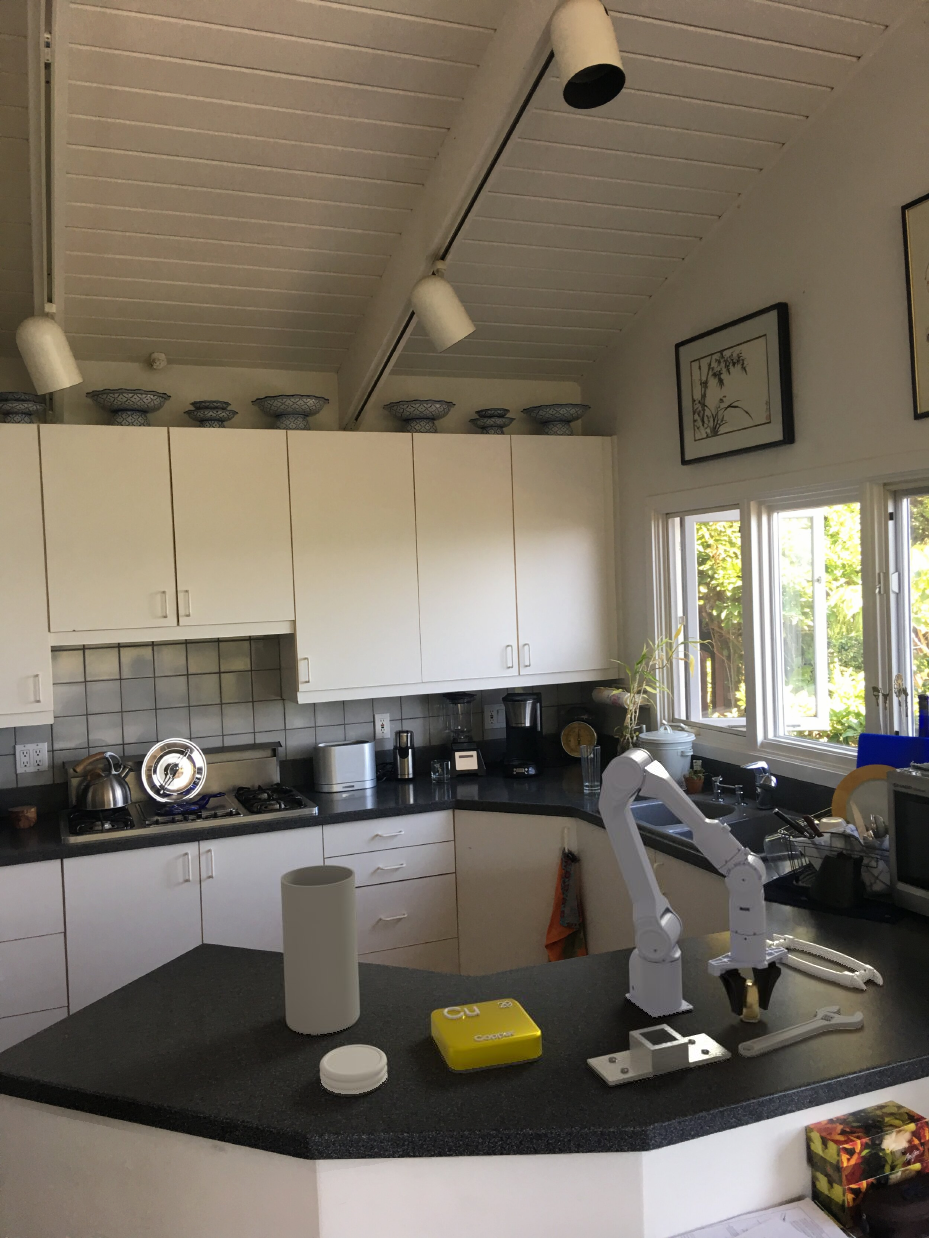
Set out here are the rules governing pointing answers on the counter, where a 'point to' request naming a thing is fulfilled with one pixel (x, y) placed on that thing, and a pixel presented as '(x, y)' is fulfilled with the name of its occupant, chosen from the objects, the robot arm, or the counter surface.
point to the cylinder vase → (320, 949)
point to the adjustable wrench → (803, 1030)
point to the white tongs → (842, 978)
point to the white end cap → (353, 1069)
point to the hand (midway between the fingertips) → (749, 1010)
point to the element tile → (485, 1034)
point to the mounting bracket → (657, 1055)
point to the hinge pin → (751, 1000)
